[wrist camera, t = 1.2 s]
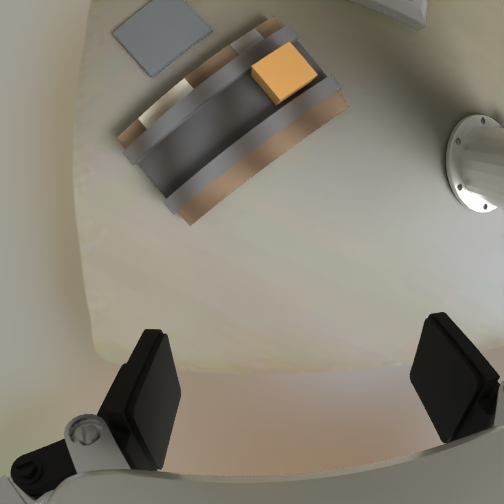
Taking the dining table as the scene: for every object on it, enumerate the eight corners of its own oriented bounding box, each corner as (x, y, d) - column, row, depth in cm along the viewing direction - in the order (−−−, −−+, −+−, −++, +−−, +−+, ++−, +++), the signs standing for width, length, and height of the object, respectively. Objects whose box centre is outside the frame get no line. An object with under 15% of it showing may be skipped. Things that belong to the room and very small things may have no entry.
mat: (170, -10, 24) (169, -12, 23) (212, 31, 26) (212, 29, 26) (114, 34, 26) (112, 33, 25) (152, 77, 28) (151, 76, 27)
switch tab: (284, 53, 25) (289, 41, 21) (309, 83, 26) (317, 74, 23) (251, 76, 26) (251, 66, 22) (276, 105, 27) (280, 100, 23)
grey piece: (272, 22, 26) (275, 10, 23) (343, 108, 29) (354, 104, 26) (124, 137, 30) (111, 138, 27) (193, 221, 33) (187, 230, 30)
